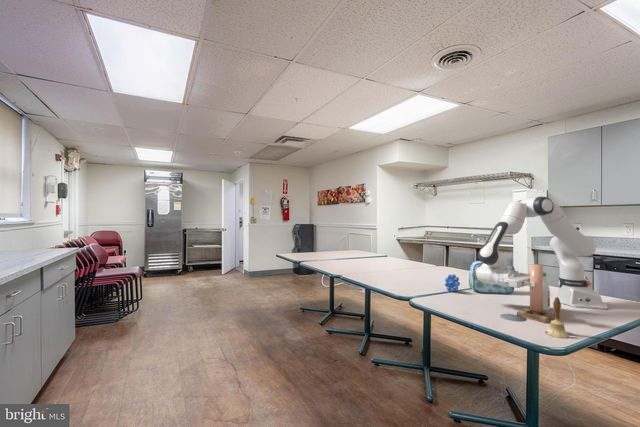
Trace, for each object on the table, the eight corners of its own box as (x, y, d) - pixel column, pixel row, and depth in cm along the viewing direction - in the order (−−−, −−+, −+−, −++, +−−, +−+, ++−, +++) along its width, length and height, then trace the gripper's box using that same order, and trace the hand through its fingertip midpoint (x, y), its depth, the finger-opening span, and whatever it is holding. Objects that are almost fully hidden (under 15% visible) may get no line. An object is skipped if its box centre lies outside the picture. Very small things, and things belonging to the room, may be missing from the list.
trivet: (525, 317, 152) (525, 315, 152) (528, 325, 142) (528, 322, 142) (499, 314, 157) (499, 312, 157) (500, 321, 147) (500, 319, 147)
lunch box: (509, 291, 205) (509, 259, 205) (516, 295, 195) (516, 262, 195) (467, 289, 210) (468, 258, 210) (473, 293, 199) (473, 261, 199)
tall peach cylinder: (541, 308, 152) (541, 264, 152) (543, 311, 147) (543, 266, 147) (529, 307, 154) (528, 263, 154) (530, 310, 149) (530, 265, 149)
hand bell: (570, 340, 125) (570, 301, 125) (545, 335, 131) (545, 298, 130) (569, 334, 132) (569, 297, 132) (545, 329, 137) (545, 294, 137)
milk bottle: (544, 312, 161) (545, 274, 161) (529, 308, 168) (529, 271, 168) (552, 310, 164) (552, 273, 164) (537, 306, 171) (537, 270, 171)
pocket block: (527, 313, 159) (527, 307, 159) (555, 320, 149) (555, 314, 149) (516, 318, 152) (516, 312, 152) (545, 325, 142) (545, 318, 142)
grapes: (464, 293, 199) (464, 274, 199) (456, 294, 196) (457, 275, 196) (449, 289, 209) (449, 271, 209) (442, 290, 206) (442, 272, 206)
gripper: (498, 275, 155) (529, 280, 144) (516, 270, 167) (546, 274, 155) (498, 287, 155) (529, 293, 144) (516, 282, 167) (546, 287, 155)
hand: (538, 283), depth 150 cm, fingers closed on tall peach cylinder, 5 cm apart
